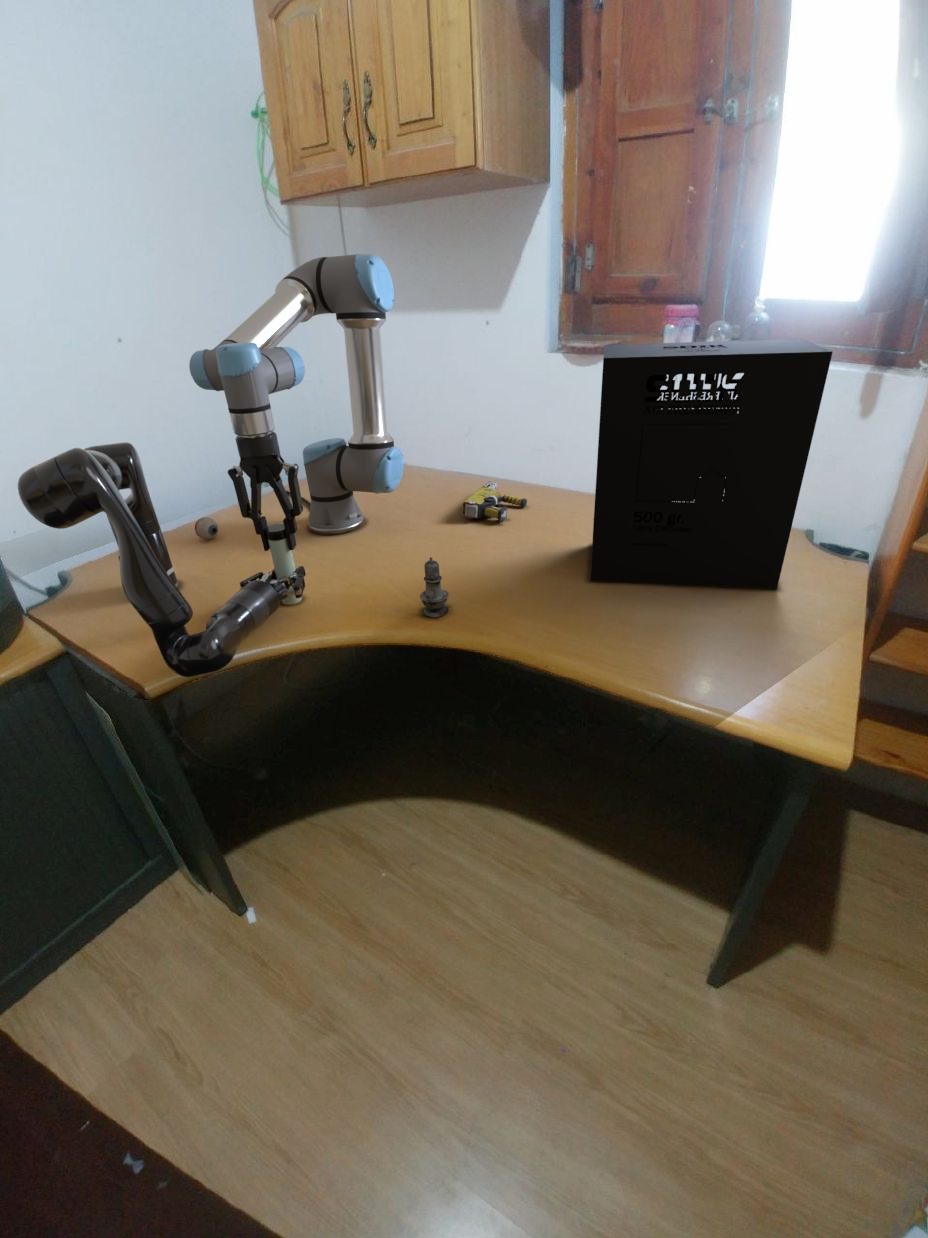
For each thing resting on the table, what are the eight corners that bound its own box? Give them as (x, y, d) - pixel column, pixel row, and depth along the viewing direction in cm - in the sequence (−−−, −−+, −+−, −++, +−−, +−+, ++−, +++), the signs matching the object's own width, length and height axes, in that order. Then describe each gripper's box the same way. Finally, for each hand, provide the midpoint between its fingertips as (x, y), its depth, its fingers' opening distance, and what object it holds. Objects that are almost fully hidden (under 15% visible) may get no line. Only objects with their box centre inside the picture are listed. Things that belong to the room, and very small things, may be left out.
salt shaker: (446, 618, 120) (442, 563, 114) (417, 616, 122) (412, 562, 116) (452, 604, 125) (448, 551, 119) (425, 602, 126) (420, 550, 120)
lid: (285, 540, 121) (284, 531, 121) (263, 540, 122) (261, 532, 121) (292, 531, 126) (290, 523, 125) (270, 532, 126) (268, 523, 125)
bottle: (297, 605, 129) (282, 533, 121) (279, 604, 130) (262, 533, 121) (304, 595, 133) (290, 525, 124) (286, 595, 133) (270, 526, 125)
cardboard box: (756, 549, 141) (800, 338, 118) (776, 589, 124) (832, 351, 101) (592, 544, 148) (604, 344, 126) (590, 580, 131) (603, 357, 109)
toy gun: (534, 486, 180) (487, 479, 184) (513, 510, 160) (461, 501, 164) (533, 501, 182) (486, 494, 186) (512, 527, 162) (460, 518, 166)
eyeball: (208, 544, 161) (202, 523, 158) (193, 540, 164) (187, 519, 161) (226, 536, 166) (220, 516, 163) (211, 533, 169) (205, 512, 166)
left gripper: (279, 592, 113) (319, 555, 127) (213, 587, 116) (259, 551, 130) (287, 627, 116) (325, 586, 131) (223, 621, 120) (267, 582, 134)
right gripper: (306, 426, 116) (326, 539, 128) (217, 430, 117) (245, 542, 129) (295, 436, 110) (317, 554, 121) (201, 440, 111) (232, 556, 122)
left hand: (292, 569), depth 130 cm, fingers closed on bottle, 4 cm apart
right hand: (280, 547), depth 125 cm, fingers closed on lid, 4 cm apart
